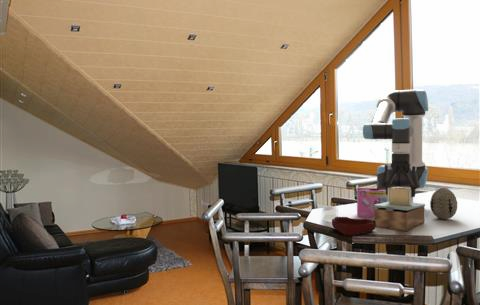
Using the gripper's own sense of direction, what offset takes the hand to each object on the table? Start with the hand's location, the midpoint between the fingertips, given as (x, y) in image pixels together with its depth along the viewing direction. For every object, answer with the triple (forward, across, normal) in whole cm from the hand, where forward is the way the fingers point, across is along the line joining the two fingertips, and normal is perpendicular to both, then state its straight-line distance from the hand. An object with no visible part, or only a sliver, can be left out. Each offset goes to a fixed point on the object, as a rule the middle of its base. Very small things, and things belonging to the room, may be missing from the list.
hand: (400, 203), depth 191 cm
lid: (+2, 0, -1) cm, 2 cm away
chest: (+10, 0, 0) cm, 10 cm away
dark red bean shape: (+10, -10, -26) cm, 30 cm away
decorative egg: (+10, +11, +26) cm, 30 cm away
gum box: (+10, -15, +14) cm, 22 cm away
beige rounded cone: (0, 0, 0) cm, 0 cm away
